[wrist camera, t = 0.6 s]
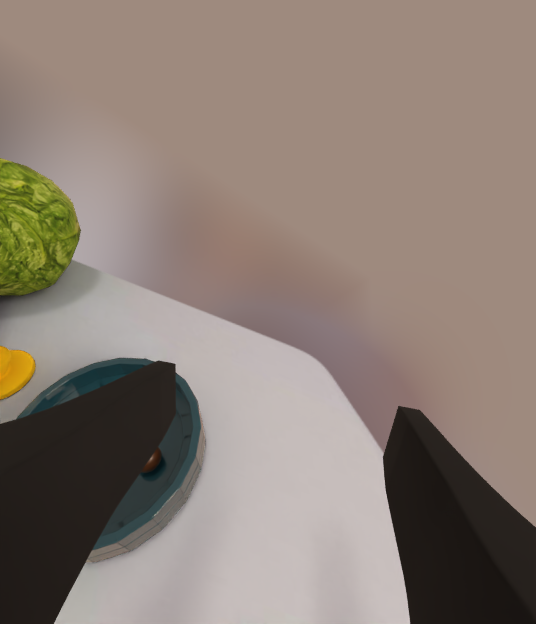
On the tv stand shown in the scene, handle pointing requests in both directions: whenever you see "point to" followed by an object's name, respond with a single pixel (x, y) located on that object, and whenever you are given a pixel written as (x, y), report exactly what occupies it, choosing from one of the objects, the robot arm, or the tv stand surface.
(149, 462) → the hazelnut
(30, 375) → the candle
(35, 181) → the lettuce
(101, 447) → the robot arm
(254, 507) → the tv stand surface
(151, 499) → the bowl
